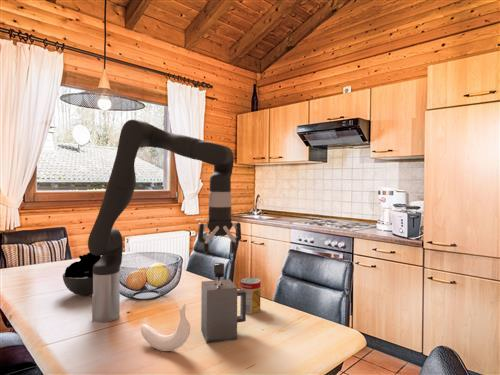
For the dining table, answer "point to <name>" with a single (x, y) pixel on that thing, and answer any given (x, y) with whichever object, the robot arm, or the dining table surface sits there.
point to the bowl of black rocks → (81, 275)
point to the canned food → (251, 294)
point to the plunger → (219, 272)
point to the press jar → (221, 310)
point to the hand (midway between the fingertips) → (219, 253)
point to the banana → (170, 340)
